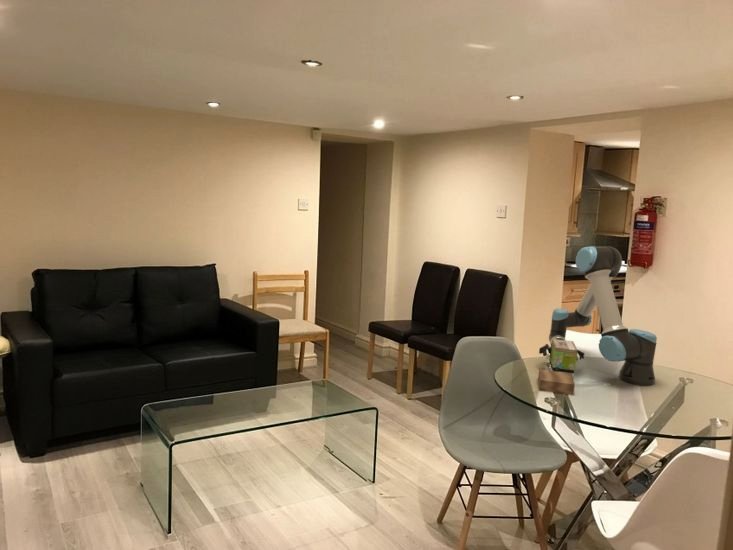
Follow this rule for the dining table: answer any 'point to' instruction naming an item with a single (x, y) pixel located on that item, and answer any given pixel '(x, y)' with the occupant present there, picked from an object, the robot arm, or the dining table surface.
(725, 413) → the dining table surface
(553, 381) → the walnut block
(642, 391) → the dining table surface
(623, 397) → the dining table surface
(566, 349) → the tea box
